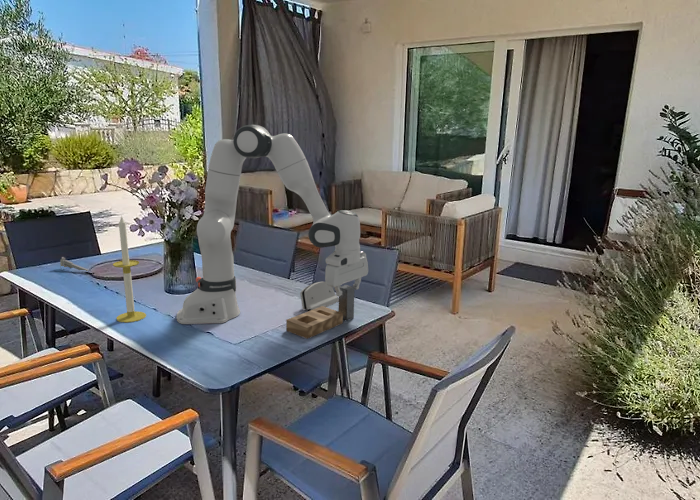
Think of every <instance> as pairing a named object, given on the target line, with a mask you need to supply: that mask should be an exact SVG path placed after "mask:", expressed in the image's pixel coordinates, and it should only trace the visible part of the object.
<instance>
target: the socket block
mask: <svg viewBox="0 0 700 500" xmlns="http://www.w3.org/2000/svg"><path fill="white" fill-rule="evenodd" d="M285 321H286V331H287V332H288V333H291V334H294V335H296V336H299V337H301V338H303V339H306V340H307V339H311V338H313V337H315V336H317V335H319V334H321V333H324V332H327V331H329V330H331V329H333V328H335V327H337V326H339V325H342V324H344V323H343V321H344V320H343V313H342V312H339V310H335V309H332V308H330V307H328V306H327V307H324V306H321V307H319V308H316V309H313V310H311V309H310V310H309V311H306V312H303V313H300V314H298V315H295V316H293V317H291V318H288V319H285Z"/></svg>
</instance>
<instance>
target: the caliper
mask: <svg viewBox="0 0 700 500" xmlns="http://www.w3.org/2000/svg"><path fill="white" fill-rule="evenodd" d="M59 260H60V261H59V263H60V267H61V266H64V267H67V268H70V269H76V270H78V271H80V270H86V271H88V270H89V269H88V268H85V267H83V266H80V265H78V264H76V263H74V262H72V261H70V260H67V259H66V257H64V256H61V259H59Z"/></svg>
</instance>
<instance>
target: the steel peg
mask: <svg viewBox="0 0 700 500" xmlns="http://www.w3.org/2000/svg"><path fill="white" fill-rule="evenodd" d="M340 290H341V291H342V296H338V299H339V302H338V311H339V312H342V313H343V321H345V320H346V321H345V322H348V321H350V320H353V319H354V317H355V316H354V315H355V290H354V287H353V285H348V284H344V285H341V287H340Z"/></svg>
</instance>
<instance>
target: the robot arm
mask: <svg viewBox="0 0 700 500" xmlns="http://www.w3.org/2000/svg"><path fill="white" fill-rule="evenodd" d="M212 148H213V149H212V152H211V156H210V158H209V159H210V160H209V164H208V167H207V168H208V170H207V175H206V176H207V177H206V183H205V187H204V194H205V196H204V197H205V198H204V210H203V211H204V212H203V215H202V216H201V217H200V218H199V220H198V222H197V225H196V235H197V239H198V246H199V250H200V255H201V267H202V269H201V270H202V277H201V276H197V277H196V278H195V282H196V285H197V288H196V289H195V290H194V291H192V292H191V293H190V294H188V295H187V296H186V297H185V299H184V300H183V303H182V308H180V309H179V310H178V311H177V313H176V321H177V322H178V323H179V324H181V325H199V324H200V325H201V324H202V325H203V324H205V325H206V324H223V323H226V322H228V321H229V320H231V319H234V318H236V317H238V316H240V313H241V309H240V308H239V305H238V300H237V294H236V292H237V279H236V276H235V265H234V262H235V261H234V254H233V248H232V247H233V246H232V238H231V234H232V231H233V229H234V226H235V219H236V211H237V203H238V202H237V200H238V195H239V188H240V183H241V182H240V181H241V176H242V169H243V164H244V163H245V160H246V159H257V158H263V157H266V158H268V159H269V160H270V161H271V162H272V165H273V166H274V168H275V169H274V170H275V171H276V174H277V175H278V177H279V179H280V181H281V182H282V184H283V185H284V186H285V188H286V189H287V190H289V191H291V192H294V193H295V194H297V195H298V196H299V197H300V198H301V199H302V200H303V202H304V204H305V206H306V208H307V210H308V212H309V214H310V216H311V217H312V221H313V222H312V225H310V228H309V230H308V238H309V241H310V243H311V245H314V247H317V248H330V247H334V249H335V250H334V251H332V252H331V254H329V255H328V256H327V257H326V258H325V264H326V267H325V271H324V272H325V273H324V274H325V275H324V278H325V281H324V282H326V284H327V285H328V286H331V287H333V289H334V291H335V295H336V296H337V297H339V296H342V291H341V290H340V287H341V286H342V285H343V284H344V285H345V284H346V283H349V282H352V281H354V284H352V287H354V291H357V290H359V289H360V284H361V282H362V278H363V277H366V276H368V273H369V265H368V264H369V263H368V258H367V253H366V252H365V251H361V245H360V239H361V223H360V217H359V215H358V214H357V213H356V212H354V211H351V210H346V209H344V210H343V209H341V210H339V209H338V210H337V211H336V212H335V213H333V214H332V213H331V212H330V211H329V209H328V208H327V205H326V204H325V202H324V200H323V198H322V196H321V194H320V193H319V190H318V188H317V185H316V182H315V179H314V176H313V172H312V170H311V168H310V164H309V162H308V160H307V158H306V155H305V153H304V151H303V150H302V147H300V145H299V144H298V142H297V140H296V139H295V137H294V136H292V134H289V133H278V134H277V135H272V133H271V132H270V130H269V129H268V128H266V127H264V126H261V125H259V124H247V125H242V126H241V127H239V128H238V129H237V130H236V132H235V133H234V135H233V139H228V138H223V139H220V140H218V141H216V143H215V144H214V146H213V147H212Z"/></svg>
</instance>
